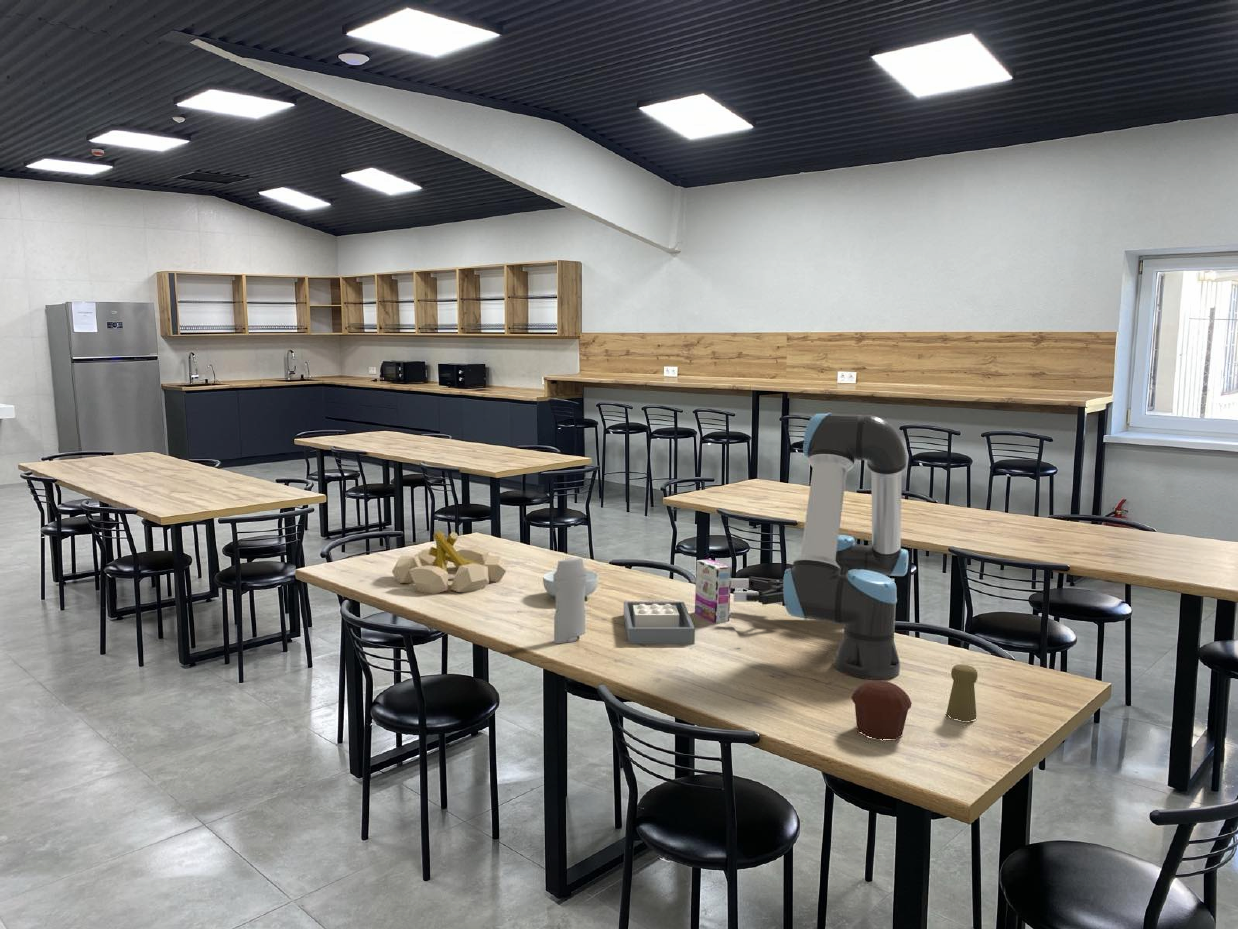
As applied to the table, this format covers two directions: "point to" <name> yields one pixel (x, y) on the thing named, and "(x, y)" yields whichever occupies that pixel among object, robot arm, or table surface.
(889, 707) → the muffin
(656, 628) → the tote
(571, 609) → the tall pale column
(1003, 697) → the table surface
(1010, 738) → the table surface
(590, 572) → the cereal bowl
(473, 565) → the campfire
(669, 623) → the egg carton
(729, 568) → the candy bar box
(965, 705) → the cork
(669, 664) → the table surface
